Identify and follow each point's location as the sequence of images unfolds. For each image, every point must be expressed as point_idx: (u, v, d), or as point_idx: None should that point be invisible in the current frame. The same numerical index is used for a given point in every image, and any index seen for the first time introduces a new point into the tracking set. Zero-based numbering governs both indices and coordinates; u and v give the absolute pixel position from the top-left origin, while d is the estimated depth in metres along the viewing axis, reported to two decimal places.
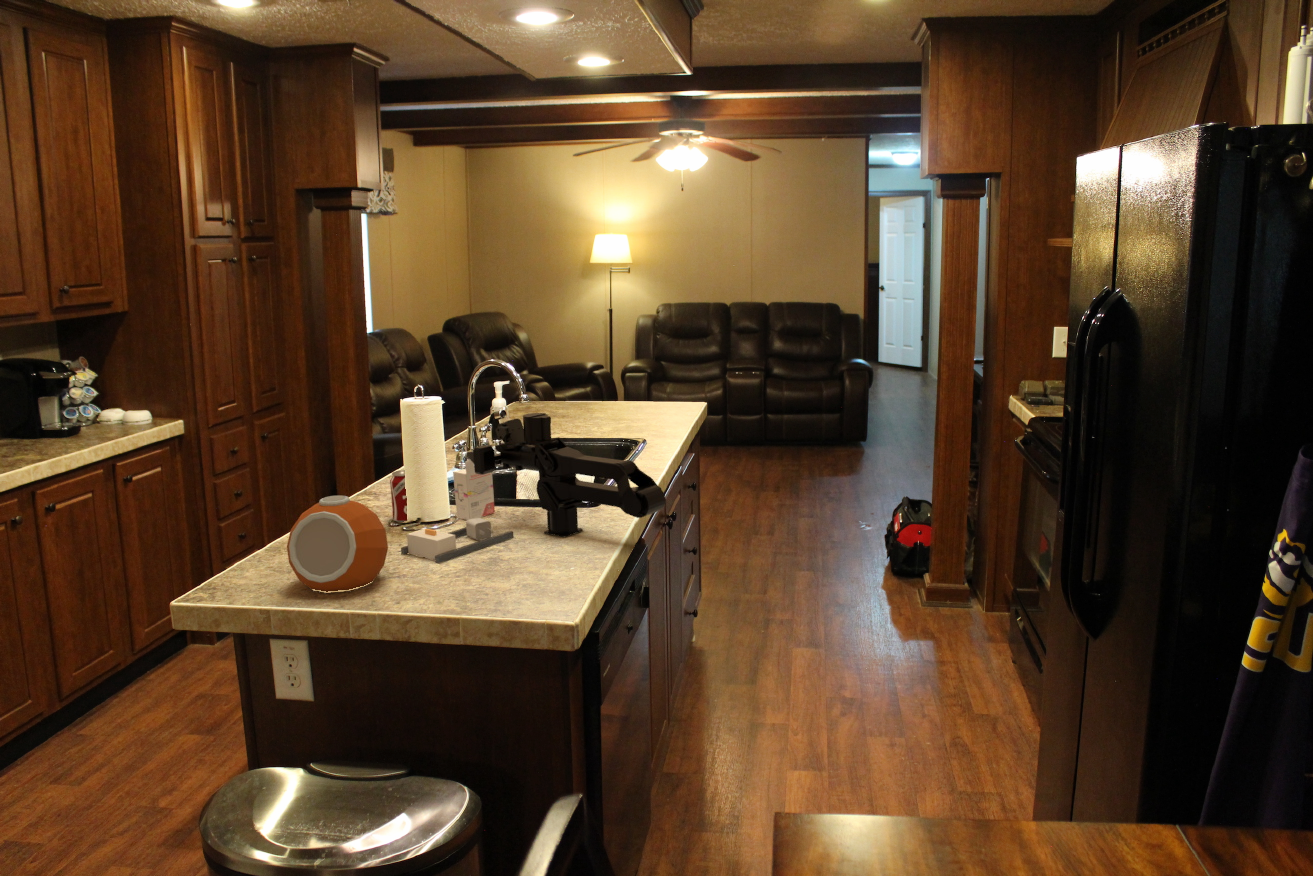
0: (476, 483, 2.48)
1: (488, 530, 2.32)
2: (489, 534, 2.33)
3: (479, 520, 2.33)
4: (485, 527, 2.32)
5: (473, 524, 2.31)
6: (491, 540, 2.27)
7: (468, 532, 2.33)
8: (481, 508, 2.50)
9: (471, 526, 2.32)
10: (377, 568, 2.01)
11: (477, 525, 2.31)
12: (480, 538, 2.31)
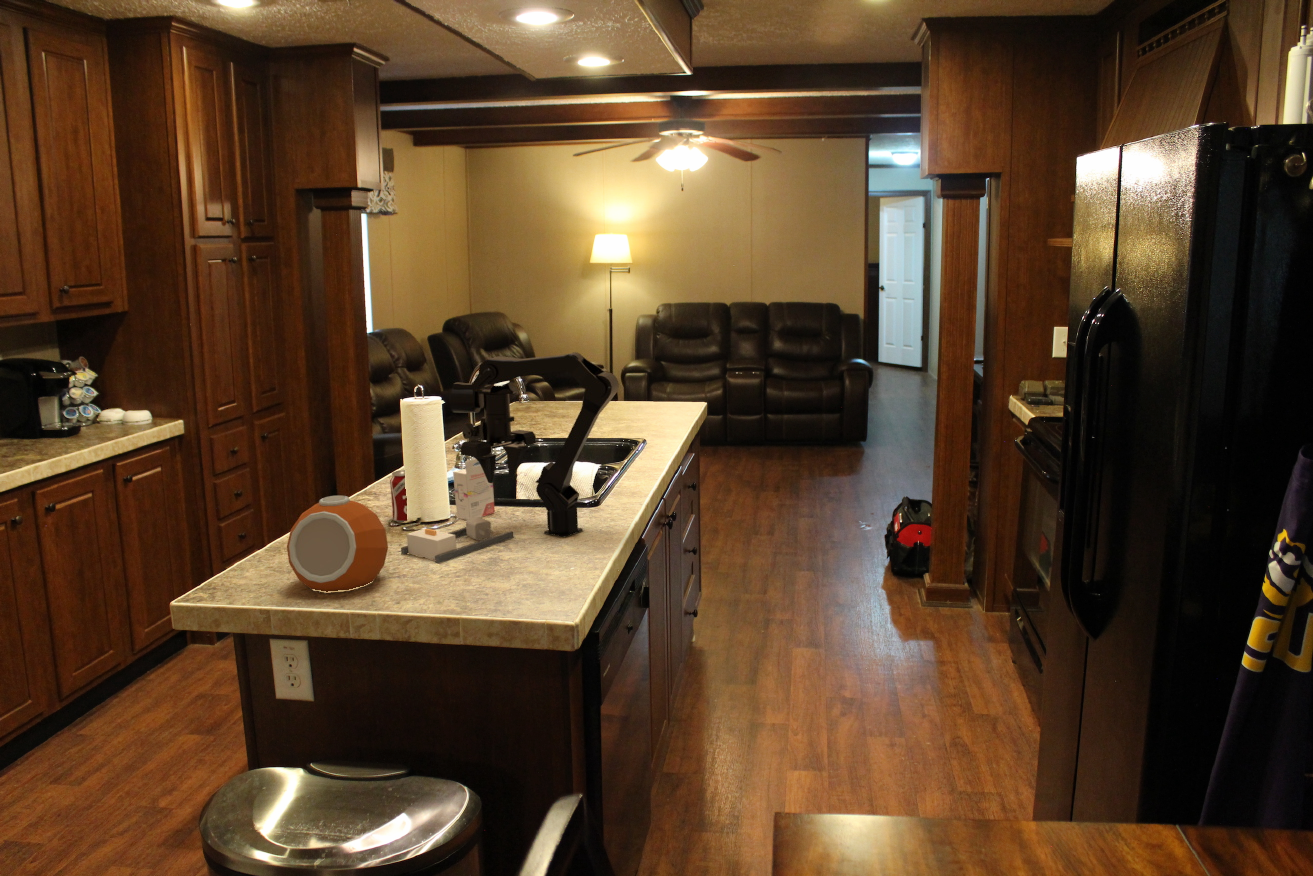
0: (476, 483, 2.48)
1: (488, 530, 2.32)
2: (489, 534, 2.33)
3: (479, 520, 2.33)
4: (484, 527, 2.32)
5: (473, 524, 2.31)
6: (491, 540, 2.27)
7: (468, 532, 2.33)
8: (481, 508, 2.50)
9: (471, 526, 2.32)
10: (377, 568, 2.01)
11: (477, 525, 2.31)
12: (480, 538, 2.31)
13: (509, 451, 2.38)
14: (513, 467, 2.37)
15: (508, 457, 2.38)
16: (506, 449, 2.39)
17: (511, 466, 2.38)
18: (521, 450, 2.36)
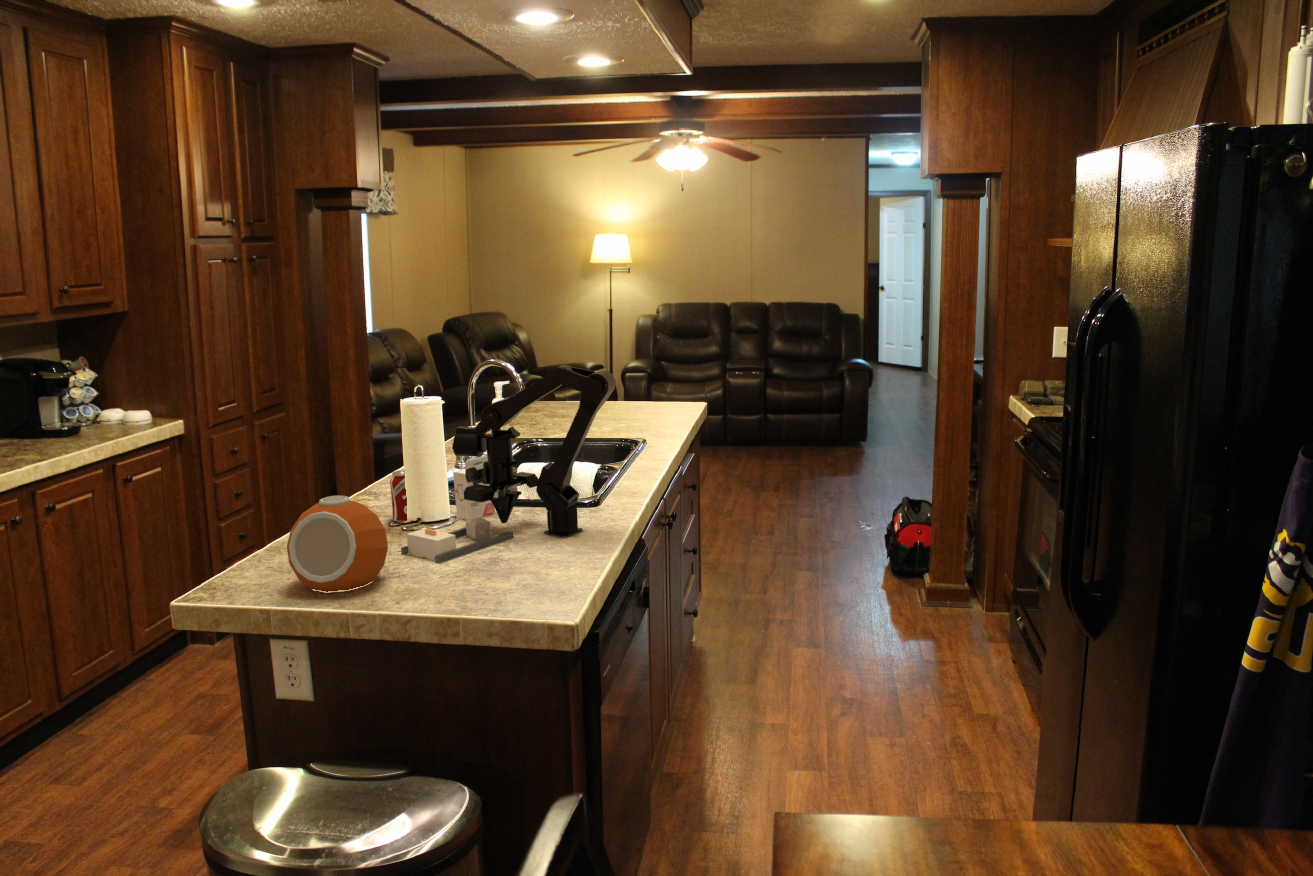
0: None
1: (488, 530, 2.32)
2: (489, 534, 2.33)
3: (479, 520, 2.33)
4: (484, 526, 2.32)
5: (473, 524, 2.31)
6: (491, 540, 2.27)
7: (468, 532, 2.33)
8: (481, 508, 2.50)
9: (471, 526, 2.32)
10: (377, 568, 2.01)
11: (477, 524, 2.31)
12: (480, 538, 2.32)
13: None
14: None
15: None
16: None
17: None
18: (514, 496, 2.36)
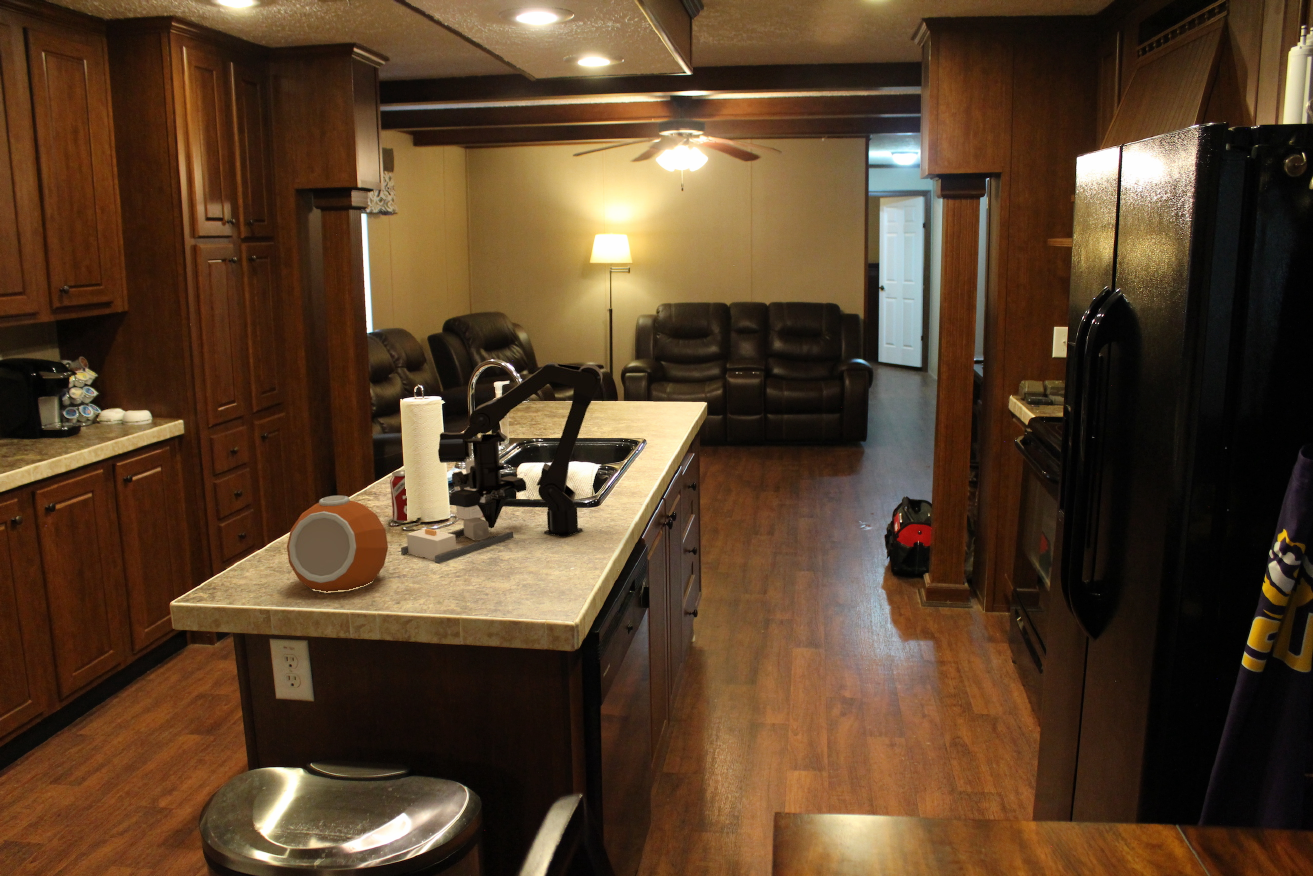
0: None
1: (485, 530, 2.31)
2: (486, 534, 2.32)
3: (476, 520, 2.32)
4: (482, 527, 2.31)
5: (470, 524, 2.31)
6: (491, 540, 2.27)
7: (465, 532, 2.33)
8: None
9: (468, 526, 2.31)
10: (377, 568, 2.01)
11: (475, 525, 2.30)
12: (477, 538, 2.31)
13: None
14: None
15: None
16: None
17: None
18: (501, 501, 2.32)
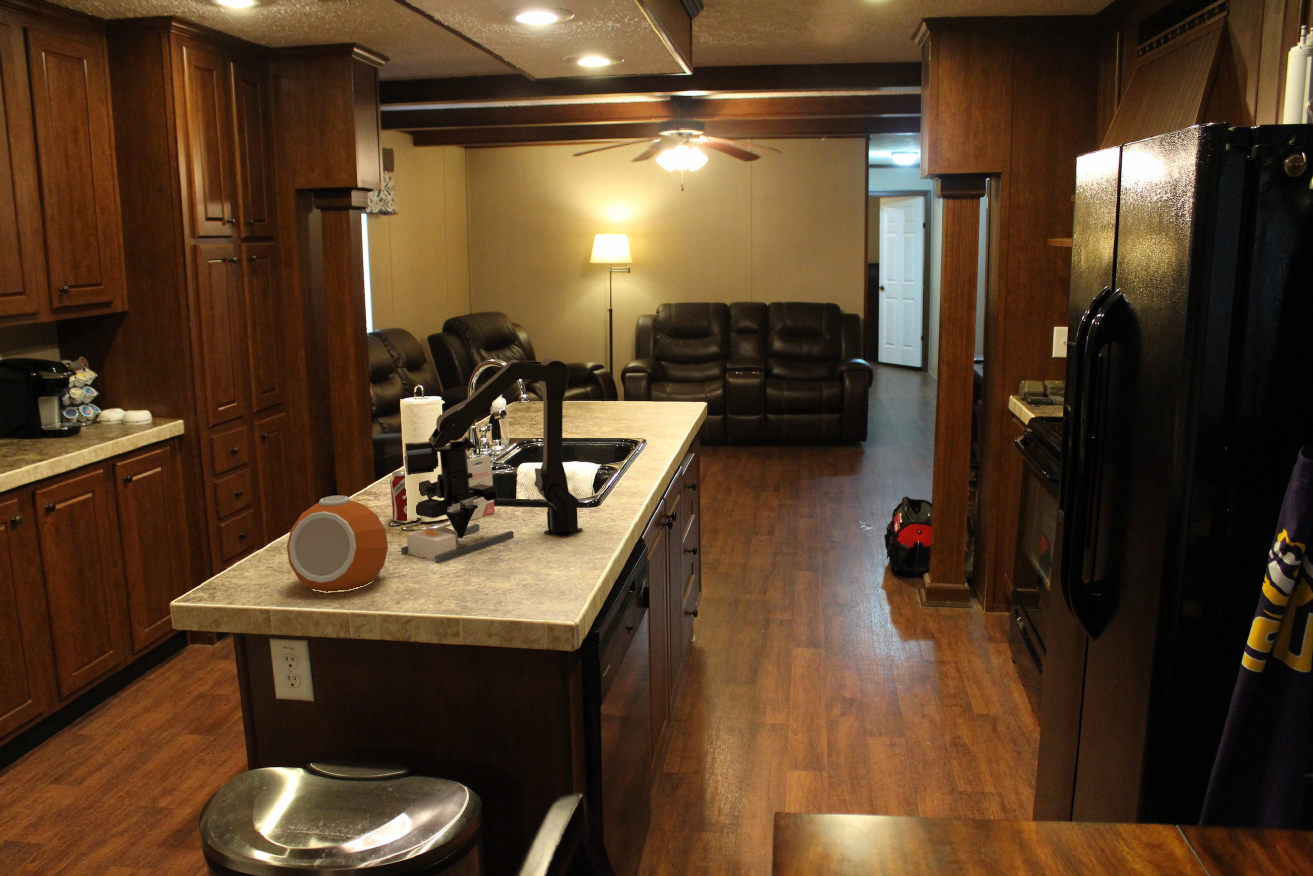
0: (476, 483, 2.48)
1: None
2: None
3: (445, 530, 2.25)
4: None
5: None
6: (491, 540, 2.27)
7: None
8: (481, 508, 2.50)
9: None
10: (377, 568, 2.01)
11: None
12: None
13: None
14: None
15: None
16: None
17: None
18: (469, 510, 2.25)
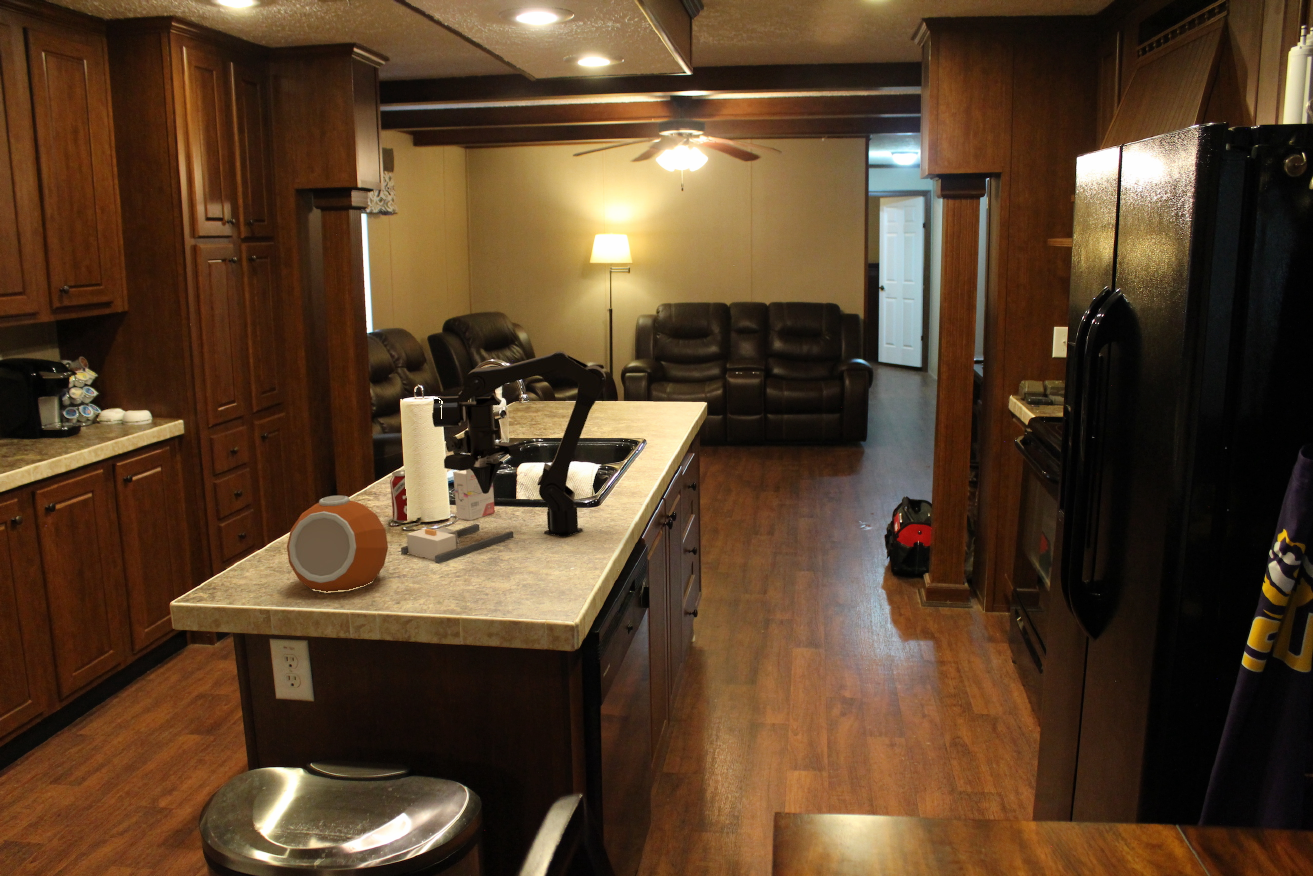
0: (476, 483, 2.48)
1: None
2: None
3: (445, 530, 2.25)
4: None
5: None
6: (491, 540, 2.27)
7: None
8: (481, 508, 2.50)
9: None
10: (377, 568, 2.01)
11: None
12: None
13: None
14: None
15: None
16: None
17: None
18: (496, 465, 2.30)
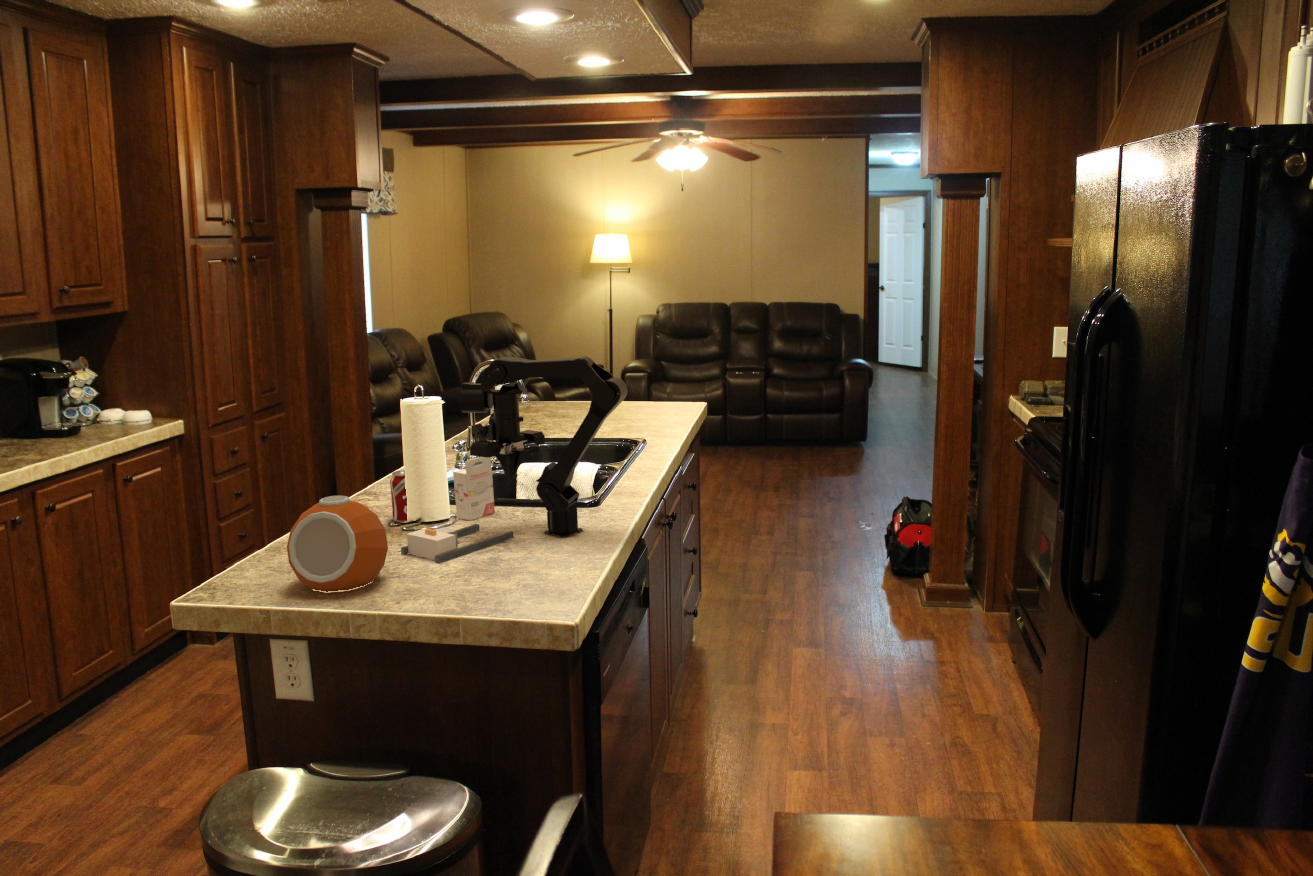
0: (476, 483, 2.48)
1: None
2: None
3: (445, 530, 2.25)
4: None
5: None
6: (491, 540, 2.27)
7: None
8: (481, 508, 2.50)
9: None
10: (377, 568, 2.01)
11: None
12: None
13: None
14: None
15: None
16: None
17: None
18: (520, 453, 2.33)
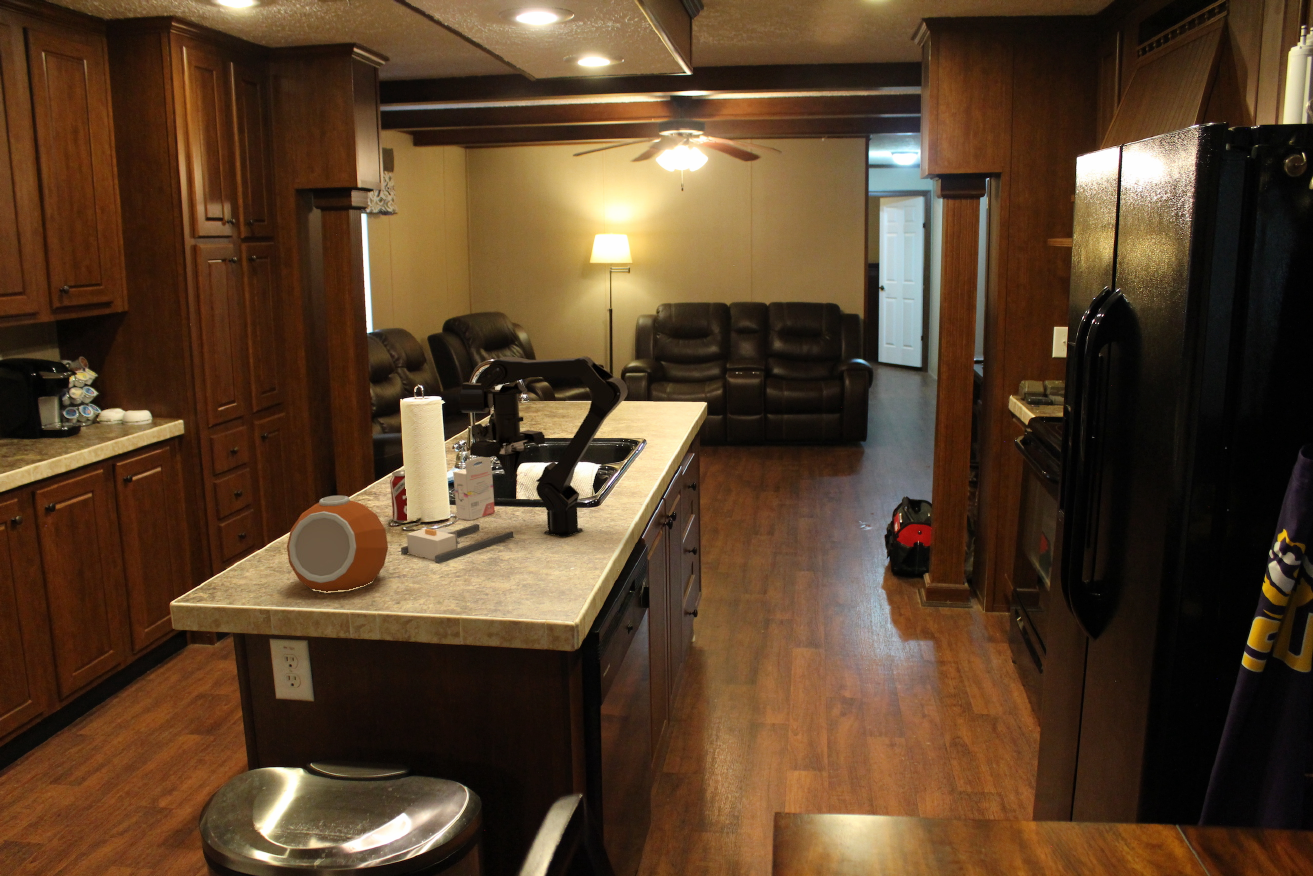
0: (476, 483, 2.48)
1: None
2: None
3: (445, 530, 2.25)
4: None
5: None
6: (491, 540, 2.27)
7: None
8: (481, 508, 2.50)
9: None
10: (377, 568, 2.01)
11: None
12: None
13: None
14: None
15: None
16: None
17: None
18: (520, 453, 2.33)
